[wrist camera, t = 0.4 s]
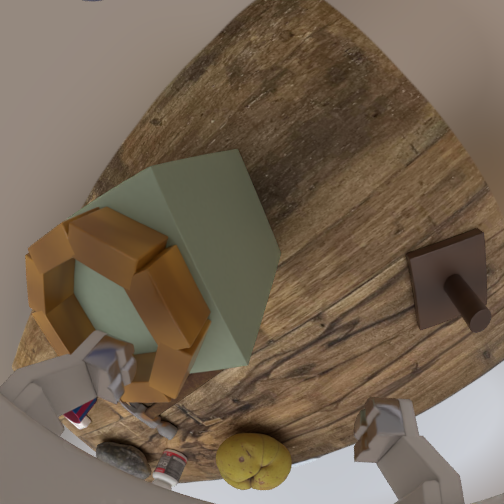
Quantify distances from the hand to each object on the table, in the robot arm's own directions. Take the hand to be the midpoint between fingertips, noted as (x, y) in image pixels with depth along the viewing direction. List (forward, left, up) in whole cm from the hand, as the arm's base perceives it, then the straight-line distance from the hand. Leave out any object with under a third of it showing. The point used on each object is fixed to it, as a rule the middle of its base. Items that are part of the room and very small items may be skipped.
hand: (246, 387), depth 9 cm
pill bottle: (+40, -39, -21) cm, 59 cm away
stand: (+12, +14, -21) cm, 28 cm away
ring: (-2, -8, -5) cm, 10 cm away
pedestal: (-2, -8, -21) cm, 22 cm away
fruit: (+33, -17, -21) cm, 42 cm away
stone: (+41, -55, -21) cm, 71 cm away
